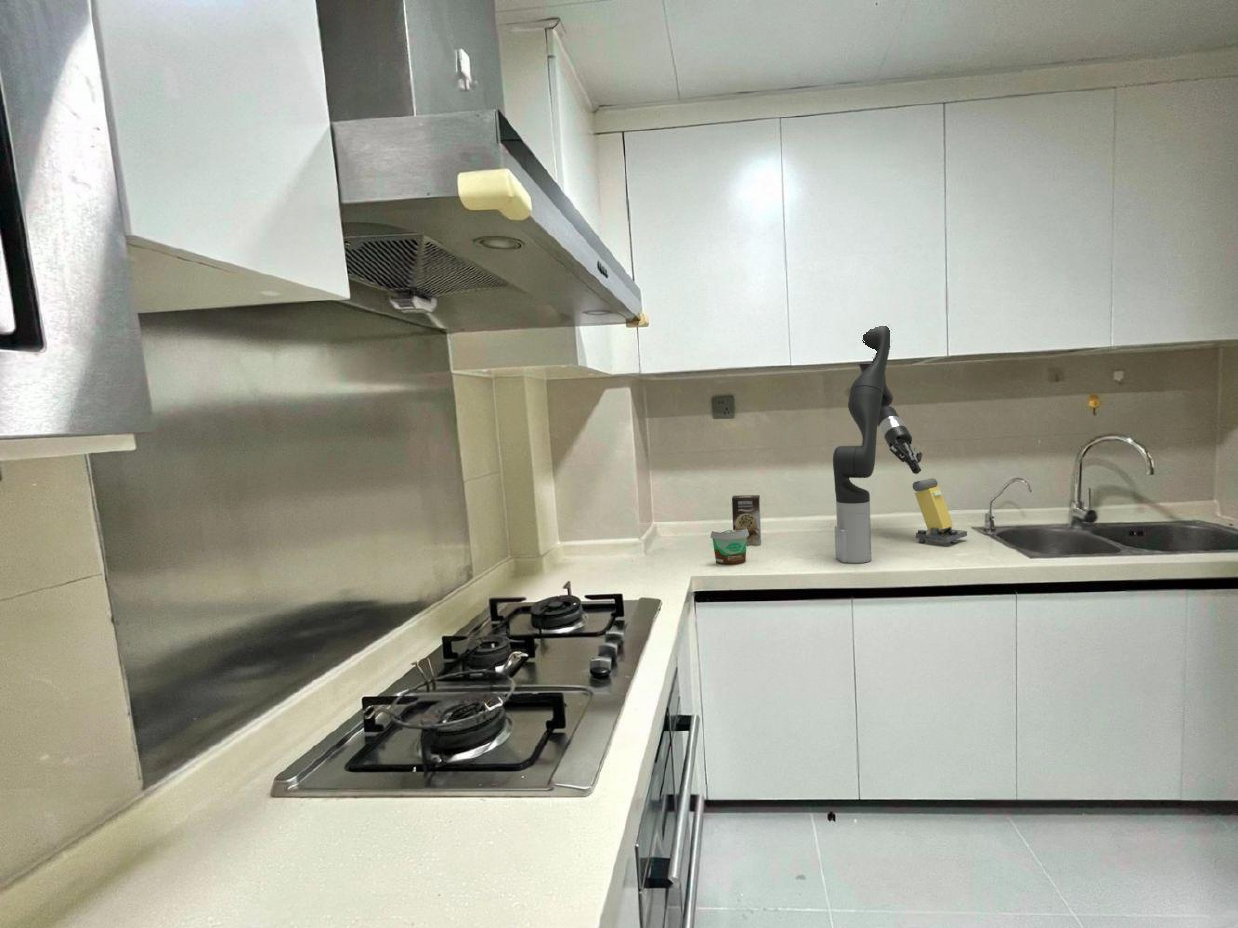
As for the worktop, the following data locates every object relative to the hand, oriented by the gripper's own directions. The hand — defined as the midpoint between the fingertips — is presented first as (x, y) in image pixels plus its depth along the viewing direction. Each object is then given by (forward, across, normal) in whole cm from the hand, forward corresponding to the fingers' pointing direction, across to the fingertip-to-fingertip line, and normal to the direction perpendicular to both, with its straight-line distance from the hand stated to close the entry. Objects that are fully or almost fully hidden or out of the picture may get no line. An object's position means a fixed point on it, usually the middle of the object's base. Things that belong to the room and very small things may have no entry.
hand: (917, 472), depth 207 cm
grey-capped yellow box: (+14, +11, +9) cm, 20 cm away
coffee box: (+1, -32, +48) cm, 58 cm away
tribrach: (+16, +13, +11) cm, 23 cm away
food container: (+19, -50, +38) cm, 65 cm away
